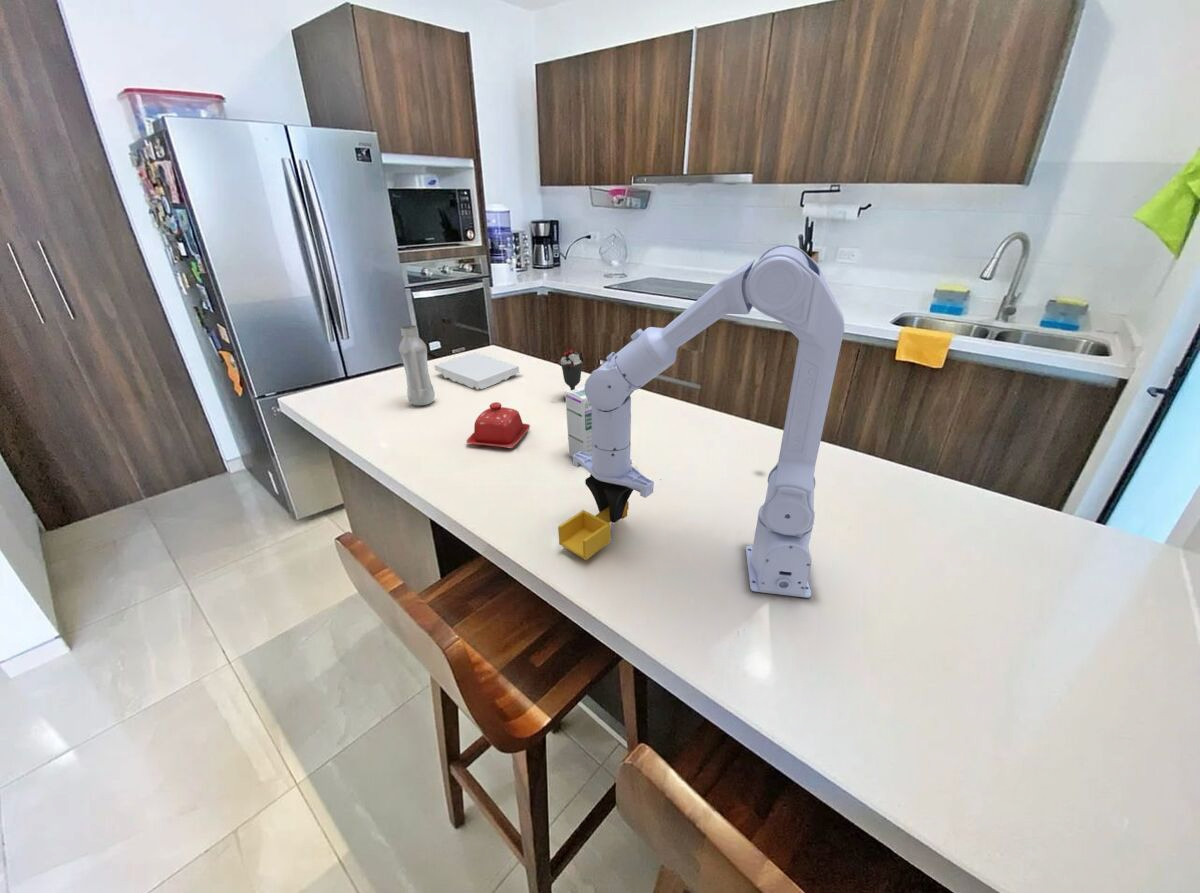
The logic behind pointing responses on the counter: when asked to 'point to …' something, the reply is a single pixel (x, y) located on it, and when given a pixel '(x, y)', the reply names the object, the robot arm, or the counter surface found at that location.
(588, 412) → the syrup box
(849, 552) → the counter surface
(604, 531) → the scoop
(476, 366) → the food packaging
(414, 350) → the plastic bottle
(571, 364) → the sundae
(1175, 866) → the counter surface
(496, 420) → the butter dish
